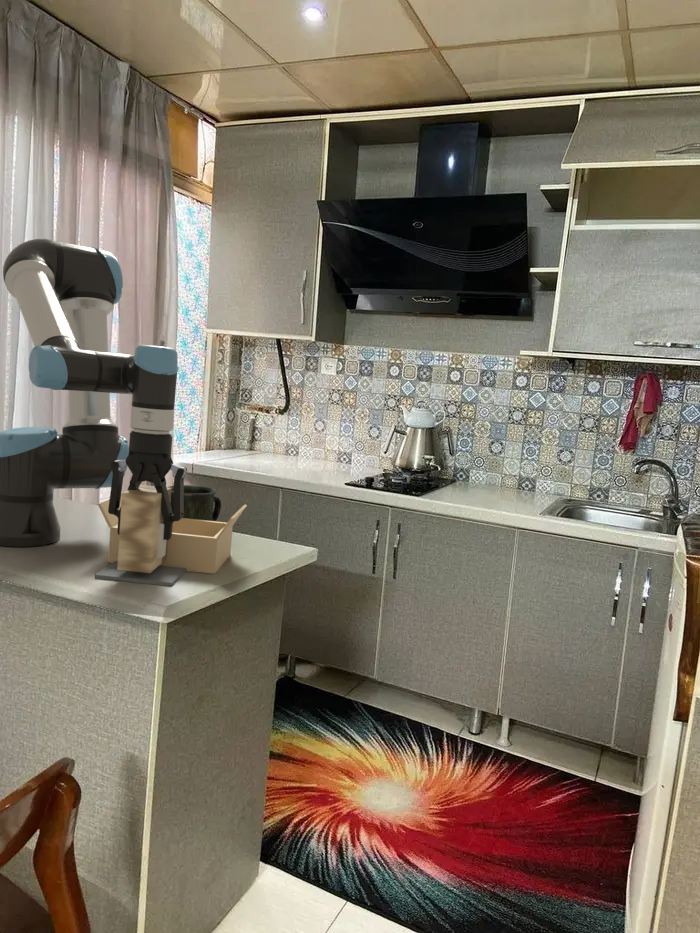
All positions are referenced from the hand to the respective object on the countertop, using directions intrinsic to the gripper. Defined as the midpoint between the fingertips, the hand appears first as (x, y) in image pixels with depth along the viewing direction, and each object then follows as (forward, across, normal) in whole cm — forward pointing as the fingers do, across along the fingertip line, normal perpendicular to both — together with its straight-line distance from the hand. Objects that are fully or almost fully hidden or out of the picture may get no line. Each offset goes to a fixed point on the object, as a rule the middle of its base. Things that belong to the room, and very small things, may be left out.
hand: (143, 554), depth 132 cm
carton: (+4, +2, +13) cm, 14 cm away
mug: (+4, +2, +30) cm, 30 cm away
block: (+2, 0, 0) cm, 2 cm away
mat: (+4, 0, 0) cm, 4 cm away
